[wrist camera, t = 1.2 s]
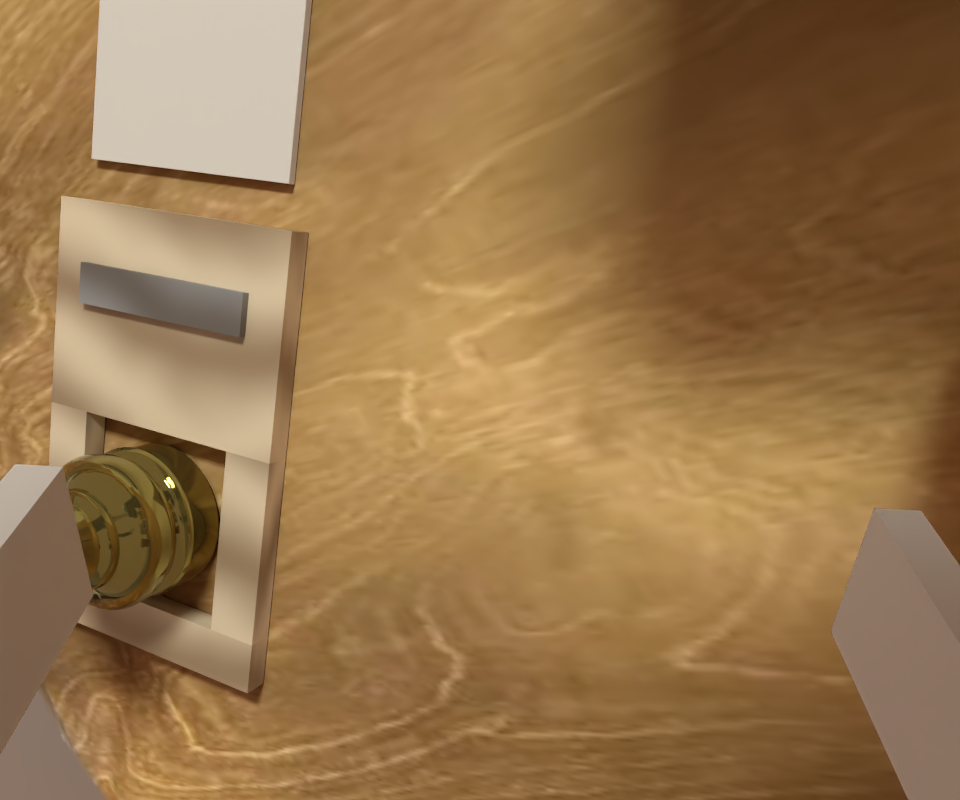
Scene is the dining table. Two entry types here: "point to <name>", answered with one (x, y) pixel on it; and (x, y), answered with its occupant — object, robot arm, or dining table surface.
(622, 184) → the dining table surface
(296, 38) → the mat
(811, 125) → the dining table surface
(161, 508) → the brass bell weight
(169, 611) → the light wooden flat frame
